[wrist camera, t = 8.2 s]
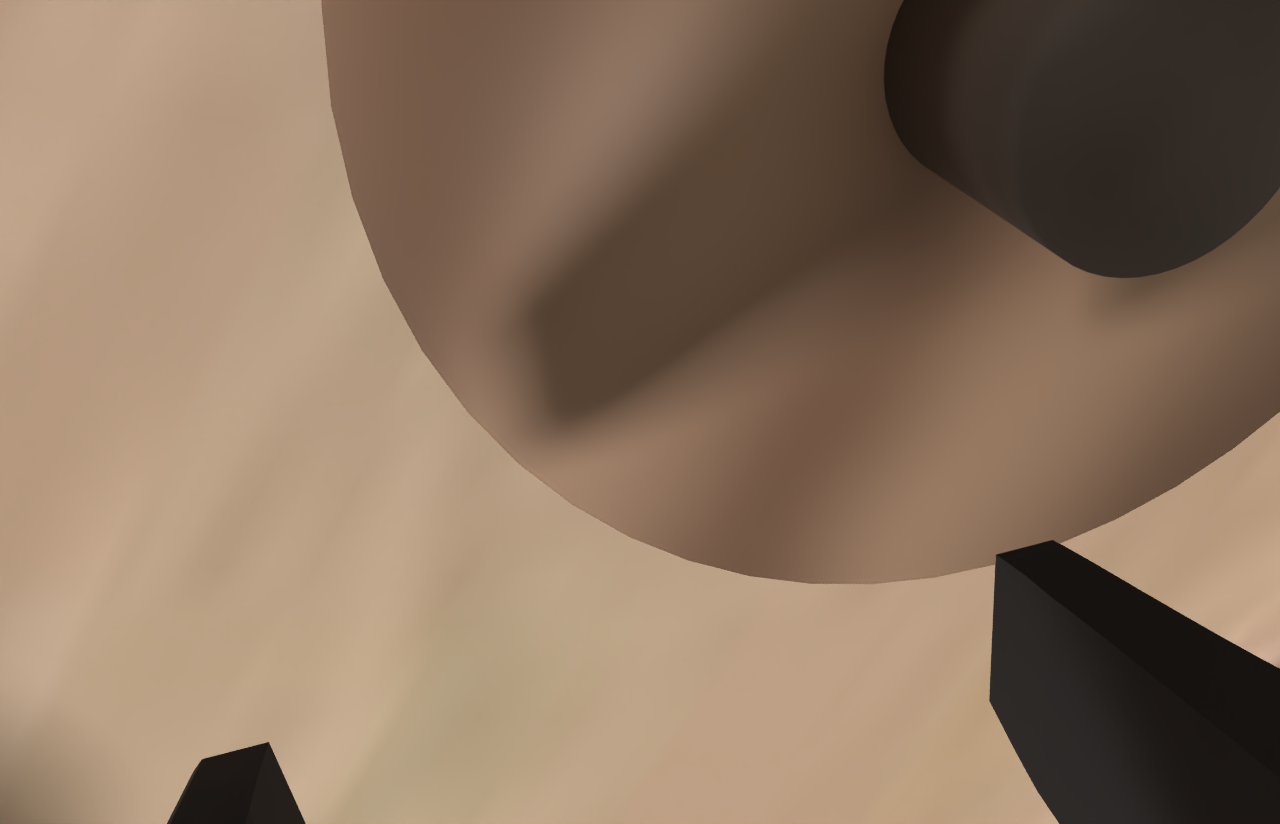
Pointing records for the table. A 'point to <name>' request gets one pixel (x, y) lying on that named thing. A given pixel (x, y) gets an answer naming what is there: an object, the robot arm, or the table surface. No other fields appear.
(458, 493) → the table surface
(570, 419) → the lid
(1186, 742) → the robot arm
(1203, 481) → the table surface
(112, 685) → the table surface
